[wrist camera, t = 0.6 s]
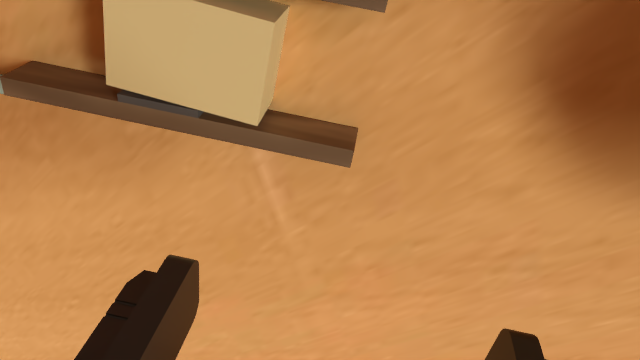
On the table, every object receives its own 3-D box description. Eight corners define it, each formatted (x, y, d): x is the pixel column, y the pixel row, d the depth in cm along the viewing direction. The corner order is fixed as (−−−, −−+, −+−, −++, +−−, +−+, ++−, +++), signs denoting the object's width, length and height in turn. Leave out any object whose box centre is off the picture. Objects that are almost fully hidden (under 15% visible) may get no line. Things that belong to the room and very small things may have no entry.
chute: (0, -99, 26) (-44, -97, 23) (391, -24, 25) (390, -13, 22) (35, 77, 31) (4, 94, 29) (354, 144, 31) (350, 167, 28)
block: (139, -38, 27) (101, -25, 23) (290, 4, 27) (274, 22, 23) (139, 61, 30) (106, 84, 27) (273, 98, 30) (257, 126, 27)
